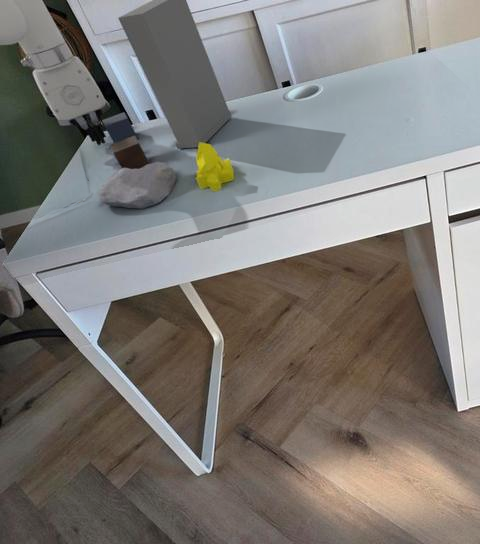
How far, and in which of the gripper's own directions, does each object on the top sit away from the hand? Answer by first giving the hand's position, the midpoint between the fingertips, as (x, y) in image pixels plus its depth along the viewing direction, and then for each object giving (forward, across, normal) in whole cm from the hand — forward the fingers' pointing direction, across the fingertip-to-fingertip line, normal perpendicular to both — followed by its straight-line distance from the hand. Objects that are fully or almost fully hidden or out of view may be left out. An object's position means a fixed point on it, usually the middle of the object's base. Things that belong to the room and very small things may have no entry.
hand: (101, 142), depth 108 cm
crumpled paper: (+2, +16, -37) cm, 41 cm away
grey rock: (+2, +3, -31) cm, 31 cm away
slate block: (+2, +5, 0) cm, 5 cm away
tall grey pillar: (+2, +20, -14) cm, 25 cm away
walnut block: (+2, +4, -17) cm, 18 cm away
